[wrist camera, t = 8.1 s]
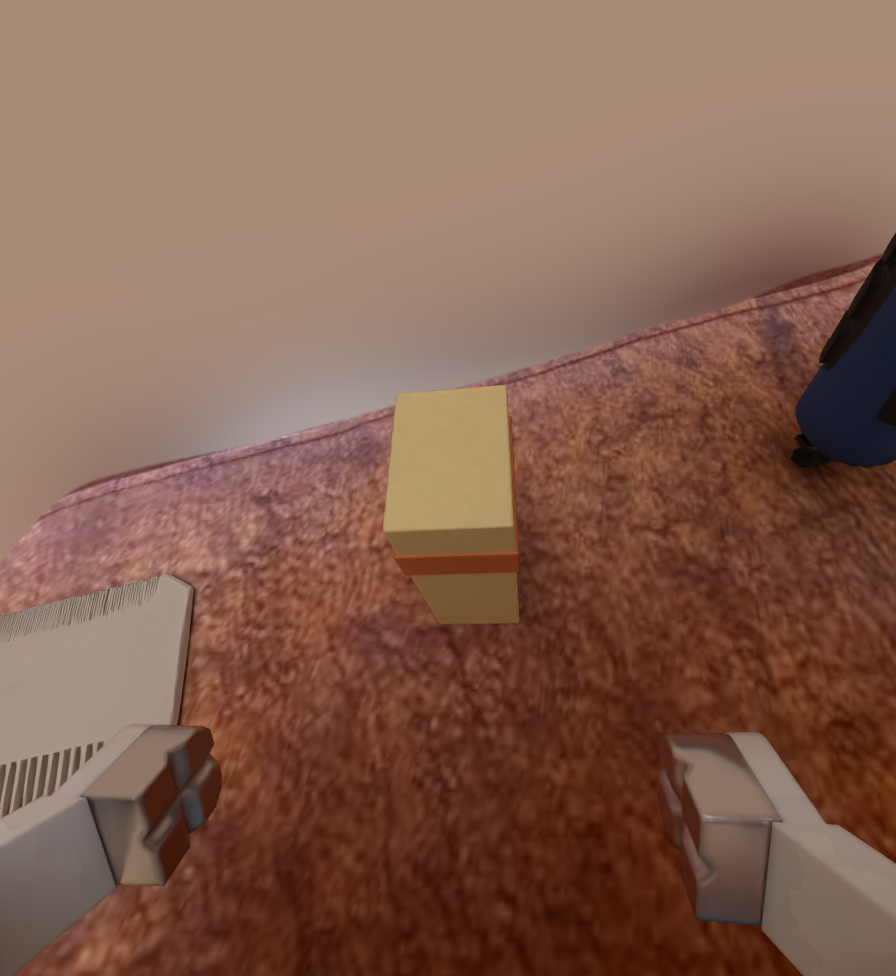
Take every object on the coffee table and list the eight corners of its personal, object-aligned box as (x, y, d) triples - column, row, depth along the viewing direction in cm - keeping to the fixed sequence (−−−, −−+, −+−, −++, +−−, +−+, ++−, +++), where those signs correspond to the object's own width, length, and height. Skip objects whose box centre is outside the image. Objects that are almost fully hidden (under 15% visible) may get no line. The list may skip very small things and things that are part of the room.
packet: (440, 523, 24) (393, 390, 16) (516, 520, 24) (510, 380, 15) (437, 627, 22) (377, 535, 13) (522, 626, 21) (517, 529, 13)
